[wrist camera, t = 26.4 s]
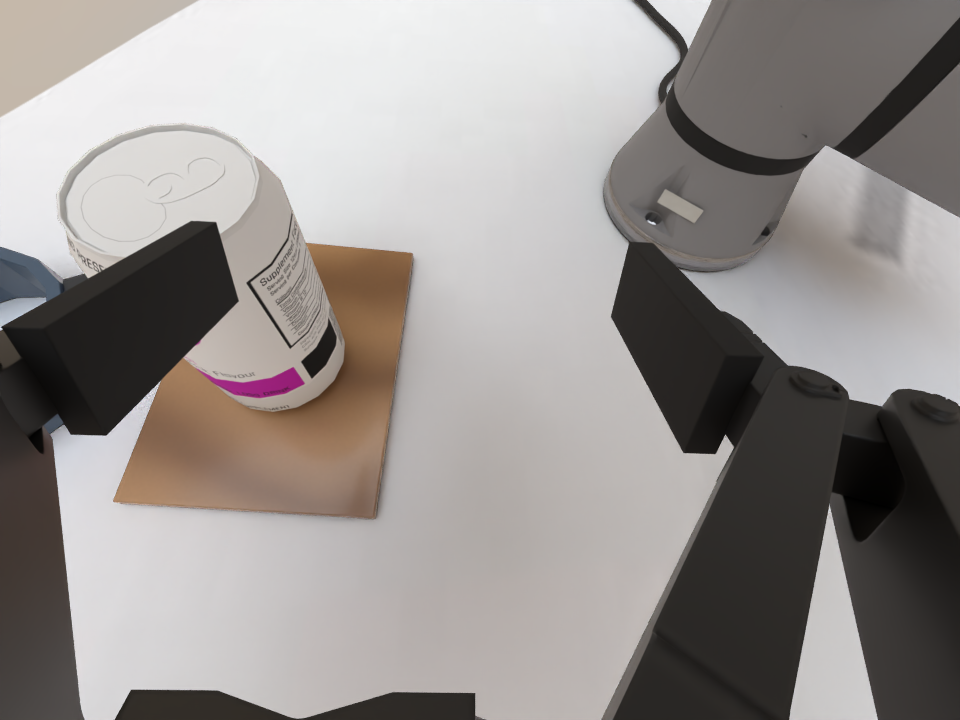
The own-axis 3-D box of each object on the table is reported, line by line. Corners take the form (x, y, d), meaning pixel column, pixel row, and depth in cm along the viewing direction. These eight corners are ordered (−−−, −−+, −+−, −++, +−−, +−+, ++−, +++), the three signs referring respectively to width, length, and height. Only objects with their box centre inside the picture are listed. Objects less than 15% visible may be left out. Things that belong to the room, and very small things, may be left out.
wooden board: (223, 241, 35) (219, 234, 34) (413, 259, 36) (413, 252, 35) (120, 503, 26) (112, 501, 25) (375, 519, 27) (373, 517, 26)
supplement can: (265, 440, 28) (101, 315, 14) (197, 352, 30) (-2, 170, 16) (370, 363, 30) (317, 198, 17) (302, 288, 33) (206, 88, 19)
